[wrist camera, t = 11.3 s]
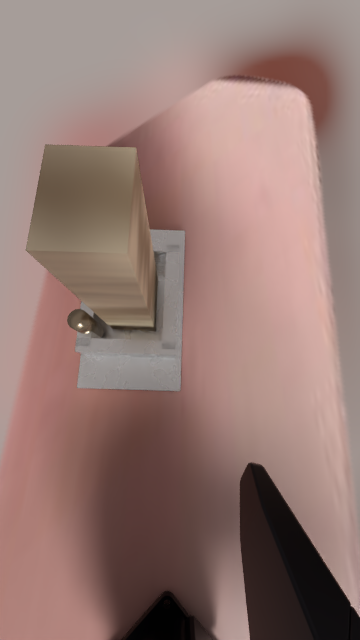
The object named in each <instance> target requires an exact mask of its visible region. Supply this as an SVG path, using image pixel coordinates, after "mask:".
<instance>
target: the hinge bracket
mask: <svg viewBox="0 0 360 640" xmlns="http://www.w3.org/2000/svg"><path fill="white" fill-rule="evenodd" d="M150 234H151V240H152V246H153V252H154V258H155V263H156V269H157V275H158V291H157V311H156V330H124V329H112V328H111V327H110V326H109V325H108V324H106V323H105V322H104V321H103V320H102V319H101V318H100V317H99V316H98V315H96V314H95V313H94V312H93V311H92V310H91V309H90V308H89V307H88V306H87V305H85V304H84V303H83V302H82V301H81V308H80V309H76V310H74V311H72V312H71V313H70V314H69V316H68V319H67V322H68V325H69V326H70V327H71V328H73V329H74V330H76V331H78V332H77V340H76V347H75V352H77V353H80V354H81V358H80V367H79V375H78V383H77V388H95V389H127V390H158V391H180V386H181V352H182V318H183V284H184V251H185V231H180V230H152V229H150Z"/></svg>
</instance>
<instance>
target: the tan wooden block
mask: <svg viewBox="0 0 360 640" xmlns="http://www.w3.org/2000/svg"><path fill="white" fill-rule="evenodd" d="M26 251H27V252H28V253H29V254H30V255H32V256H33V257H34V258H35V259H36V260H37V261H38V262H39V263H40V264H41V265H42V266H44V267H45V268H46V269H47V270H48V271H49V272H50V273H51V274H52V275H54V276H55V277H56V278H57V279H58V280H59V281H60V282H61V283H62V284H63V285H65V286H66V287H67V288H68V289H69V290H70V291H71V292H72V293H73V294H74V295H76V296H77V297H78V298H79V299H80V300H81V301H82V302H83V303H84V304H85V305H87V306H88V307H89V308H90V309H91V310H92V311H93V312H94V313H95V314H96V315H98V316H99V317H100V318H101V319H102V320H103V321H104V322H105V323H106V324H108V325H109V326H110V327H111V328H112V329H124V330H156V311H157V291H158V275H157V269H156V263H155V258H154V252H153V246H152V240H151V234H150V228H149V222H148V216H147V210H146V204H145V198H144V192H143V186H142V180H141V174H140V168H139V162H138V156H137V150H136V148H131V147H102V146H73V145H45V149H44V154H43V160H42V165H41V170H40V176H39V181H38V187H37V192H36V198H35V203H34V209H33V214H32V219H31V225H30V230H29V235H28V241H27V246H26Z"/></svg>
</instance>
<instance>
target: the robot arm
mask: <svg viewBox="0 0 360 640" xmlns="http://www.w3.org/2000/svg"><path fill="white" fill-rule="evenodd" d="M240 542H241V554H242V564H243V573H244V583H245V593H246V603H247V613H248V622H249V632H250V640H360V617H359V615H358V614H357V612H356V611H355V609H354V608H353V607H352V606H351V604H350V601H349V600H348V598H347V597H346V595H345V594H344V592H343V590H342V589H341V587H340V586H339V584H338V583H337V581H336V579H335V578H334V576H333V575H332V573H331V572H330V570H329V569H328V567H327V565H326V564H325V562H324V561H323V559H322V558H321V556H320V554H319V553H318V551H317V550H316V548H315V547H314V545H313V543H312V542H311V540H310V539H309V537H308V536H307V534H306V533H305V531H304V529H303V528H302V526H301V525H300V523H299V522H298V520H297V518H296V517H295V515H294V514H293V512H292V511H291V509H290V507H289V506H288V504H287V503H286V501H285V500H284V498H283V497H282V495H281V493H280V492H279V490H278V489H277V487H276V486H275V484H274V482H273V481H272V479H271V478H270V476H269V475H268V473H267V471H266V470H265V468H264V467H263V466H262V465H260V464H256V463H252V462H250V463H248V465H247V467H246V469H245V471H244V473H243V475H242V477H241V480H240ZM165 600H169V601H170V603H169V604H165V603H164V601H165ZM122 640H212V638H211V637H210V636H209V634H208V633H207V632H206V631H205V629H204V628H203V627H202V625H201V624H200V623H199V622H198V620H197V619H196V618H195V616H192V615H189V614H188V613H187V612H186V611H185V609H184V608H183V607H182V605H181V604H180V603H179V602H178V600H177V599H176V598H175V596H174V595H173V594H172V593H171V592H169V591H165V592H164V593H162V594H161V596H160V597H159V598H158V599H157V600H156V601H155V602H154V603H153V605H152V606H151V607H150V608H149V609H148V610H147V611H146V613H145V614H144V615H143V616H142V617H141V618H140V619H139V621H138V622H137V623H136V624H135V625H134V626H133V627H132V629H131V630H130V631H129V632H128V633H127V634H126V635H125V636H124V638H123V639H122Z"/></svg>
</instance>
